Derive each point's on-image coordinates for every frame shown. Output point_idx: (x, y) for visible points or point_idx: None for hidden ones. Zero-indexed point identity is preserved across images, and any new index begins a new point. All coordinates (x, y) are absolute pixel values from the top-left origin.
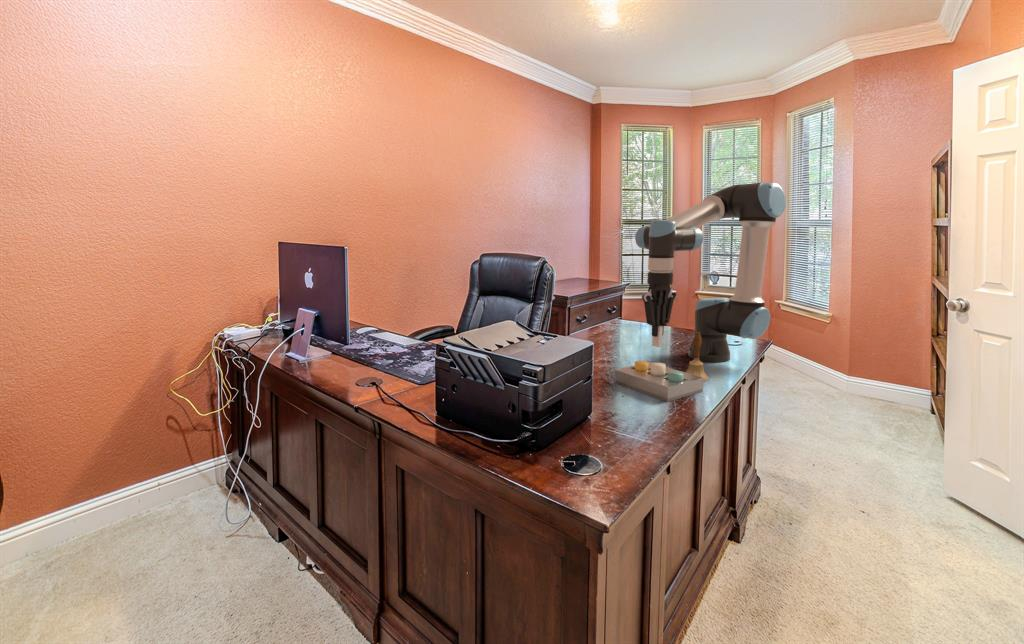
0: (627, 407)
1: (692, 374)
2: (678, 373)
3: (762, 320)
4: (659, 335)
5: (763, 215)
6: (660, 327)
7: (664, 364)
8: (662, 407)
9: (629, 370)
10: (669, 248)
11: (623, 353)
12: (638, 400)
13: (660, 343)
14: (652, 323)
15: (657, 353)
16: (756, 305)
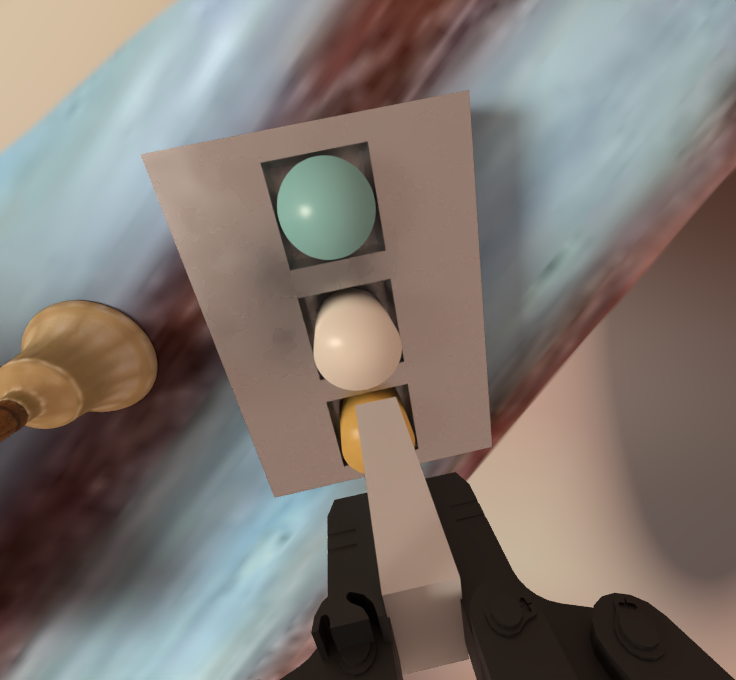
0: (634, 136)
1: (112, 348)
2: (318, 192)
3: None
4: (415, 473)
5: None
6: (433, 569)
7: (320, 341)
8: (511, 54)
9: (444, 419)
10: None
11: (227, 665)
12: (534, 194)
13: (378, 419)
14: (679, 631)
15: (91, 649)
16: None
